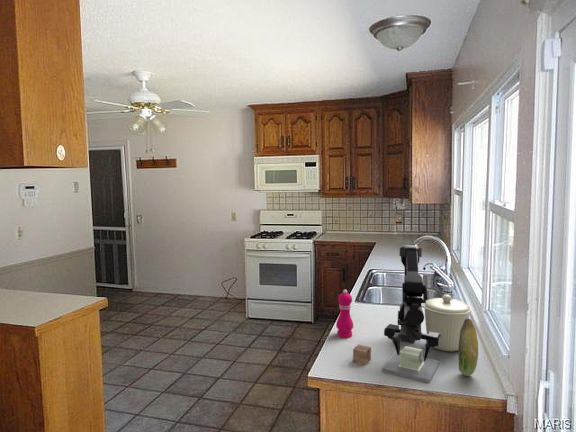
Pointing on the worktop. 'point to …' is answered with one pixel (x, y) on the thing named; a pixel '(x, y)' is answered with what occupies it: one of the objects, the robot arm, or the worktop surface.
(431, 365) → the build board
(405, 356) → the green block
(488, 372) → the worktop surface
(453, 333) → the canister
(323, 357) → the worktop surface
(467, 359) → the vegetable
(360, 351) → the walnut block
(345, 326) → the pepper mill
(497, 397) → the worktop surface
